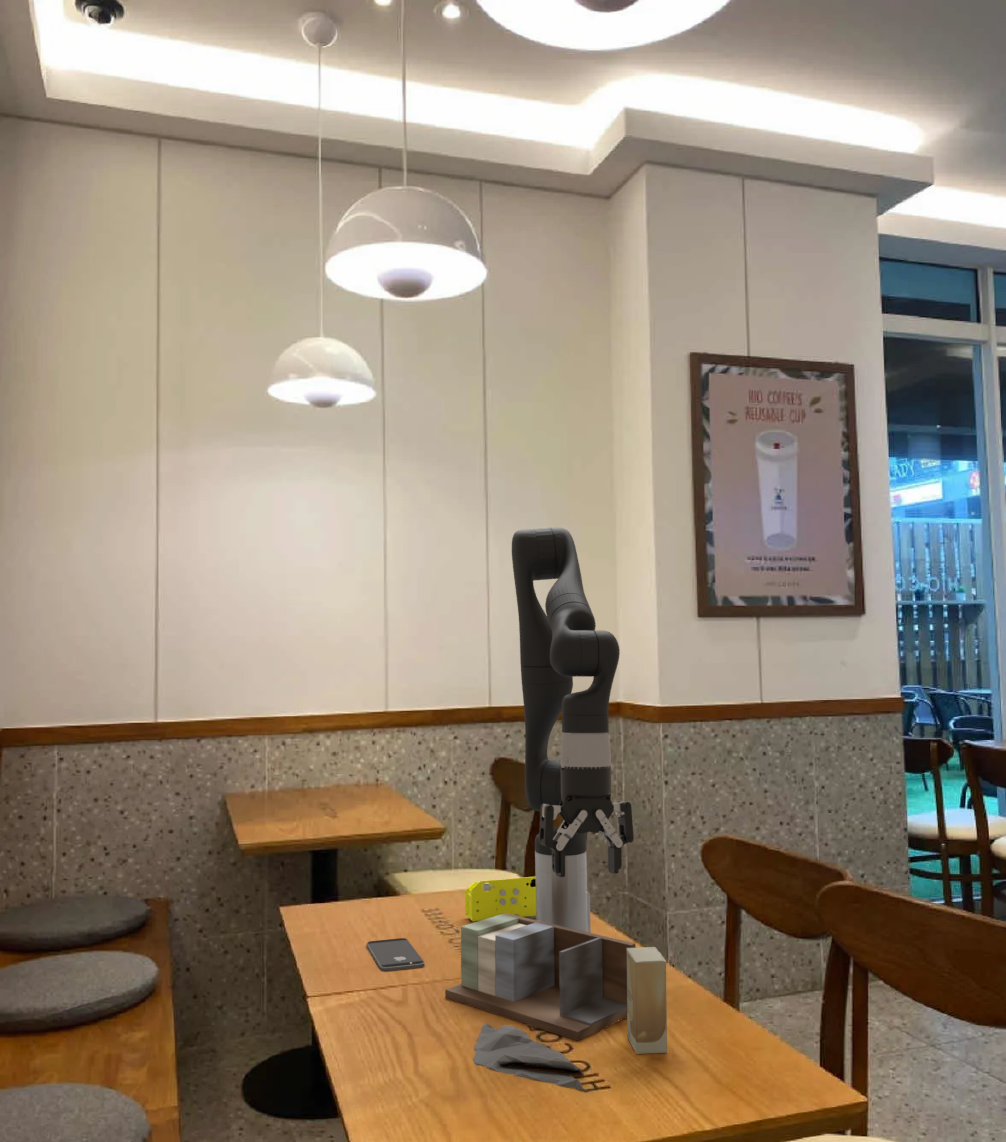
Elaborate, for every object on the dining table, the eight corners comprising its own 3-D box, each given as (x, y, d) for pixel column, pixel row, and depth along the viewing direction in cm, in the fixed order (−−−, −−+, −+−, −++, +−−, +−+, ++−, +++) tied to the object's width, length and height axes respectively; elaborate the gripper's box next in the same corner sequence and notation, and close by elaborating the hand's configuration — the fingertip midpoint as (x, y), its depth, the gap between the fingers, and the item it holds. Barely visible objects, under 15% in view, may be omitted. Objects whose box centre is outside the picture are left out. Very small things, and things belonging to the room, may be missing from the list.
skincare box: (626, 1037, 140) (624, 946, 141) (657, 1035, 141) (655, 945, 141) (636, 1055, 134) (634, 961, 135) (668, 1054, 134) (666, 959, 135)
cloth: (447, 1032, 145) (447, 1015, 145) (537, 1020, 149) (537, 1004, 149) (502, 1111, 120) (502, 1091, 120) (609, 1094, 124) (609, 1075, 124)
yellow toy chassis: (472, 926, 196) (472, 882, 197) (465, 918, 202) (464, 876, 202) (550, 919, 201) (549, 876, 202) (541, 911, 206) (540, 870, 207)
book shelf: (506, 975, 167) (505, 911, 167) (636, 1012, 149) (635, 942, 150) (445, 997, 156) (445, 930, 157) (577, 1041, 139) (576, 964, 140)
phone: (365, 947, 184) (381, 974, 169) (365, 941, 184) (381, 968, 169) (406, 943, 187) (425, 969, 171) (406, 937, 187) (425, 963, 171)
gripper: (618, 760, 157) (619, 868, 155) (532, 762, 153) (533, 873, 151) (639, 763, 150) (641, 876, 148) (550, 765, 146) (551, 881, 144)
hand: (586, 874), depth 150 cm, fingers open, 8 cm apart
